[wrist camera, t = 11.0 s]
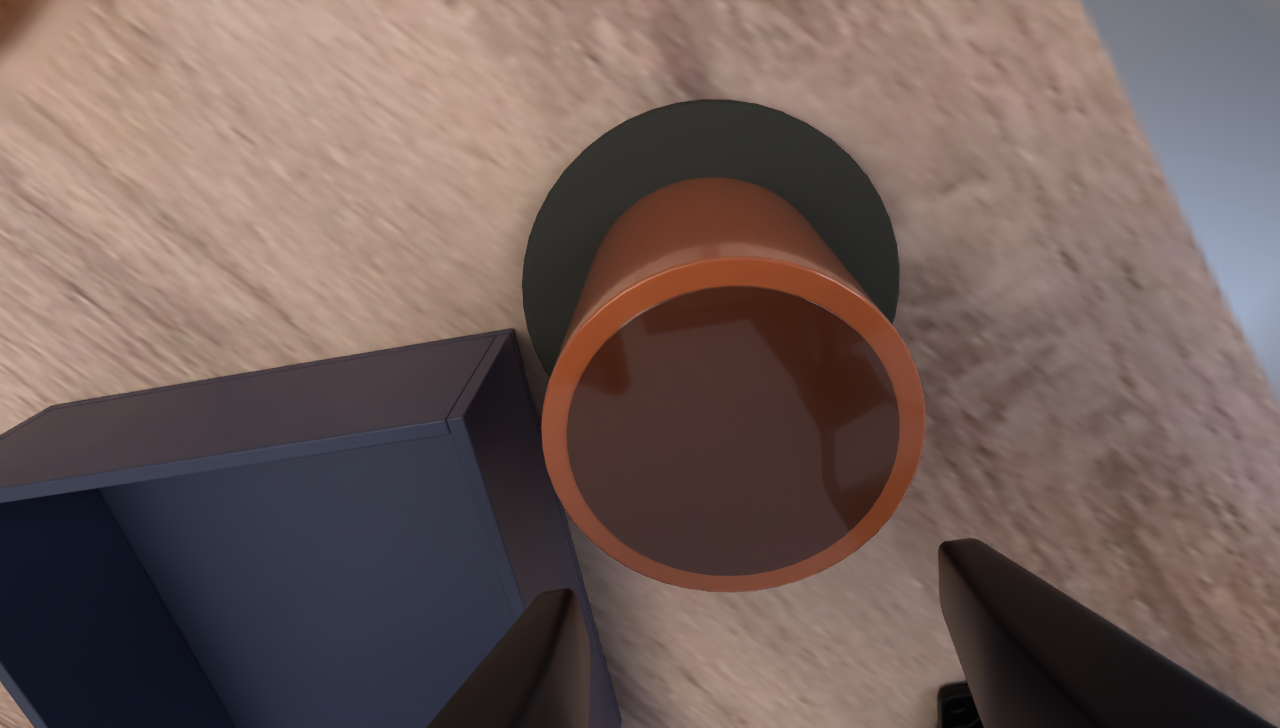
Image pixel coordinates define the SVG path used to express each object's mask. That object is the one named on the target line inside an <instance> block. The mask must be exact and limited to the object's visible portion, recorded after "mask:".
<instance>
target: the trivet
mask: <svg viewBox="0 0 1280 728" xmlns="http://www.w3.org/2000/svg"><path fill="white" fill-rule="evenodd" d="M703 177H725V178H731V179H738V180H743V181H746V182H749V183H753V184H756V185H759V186H761V187H763V188H765V189H768V190H770V191H772V192H774V193H775V194H777V195H779V196H780V197H782V198H783V199H785V200H787V201H788V202H789V203H790V204H791V205H792V206H794V207H795V208H796V209H797V210H798V211H799V212H800V213H801V214H802V215H803V216H804V217H805V218H806V219H807V221H808V222H809V223H810V224H811V225H812V226H813V228H814V229H815V230H816V231H817V233H818V234H819V235H820V236H821V238H822V239H823V240H824V241H825V242H826V244H827V245H828V246H829V247H830V249H831V250H832V251H833V252H834V254H835V255H836V256H837V257H838V258H839V260H840V261H841V262H842V263H843V265H844V266H845V267H846V268H847V270H848V271H849V272H850V273H851V274H852V276H853V277H854V278H855V279H856V281H857V282H858V283H859V284H860V286H861V287H862V288H863V289H864V290H865V292H866V293H867V294H868V295H869V297H870V298H871V299H872V300H873V302H874V303H875V304H876V305H877V306H878V308H879V309H880V310H881V311H882V313H883V314H884V315H885V316H886V318H887V319H888V320H889V321H890V323H891V324H893V321H894V317H895V313H896V307H897V300H898V294H899V260H898V252H897V244H896V240H895V236H894V232H893V229H892V225H891V221H890V218H889V216H888V214H887V211H886V209H885V207H884V205H883V202H882V200H881V198H880V196H879V194H878V193H877V191H876V189H875V188H874V186H873V185H872V183H871V181H870V180H869V178H868V176H867V175H866V174H865V173H864V172H863V170H862V169H861V168H860V167H859V166H858V164H857V163H856V162H855V161H854V160H853V158H852V157H851V156H850V155H849V154H847V153H846V152H845V151H844V150H843V149H842V148H841V147H840V146H838V145H837V144H836V143H835V142H834V141H833V140H832V139H830V138H829V137H827V136H826V135H824V134H823V133H821V132H820V131H818V130H817V129H815V128H813V127H812V126H810V125H809V124H807V123H805V122H803V121H801V120H799V119H797V118H794V117H792V116H790V115H788V114H786V113H784V112H781V111H778V110H775V109H772V108H768V107H765V106H762V105H758V104H754V103H747V102H741V101H734V100H696V101H688V102H680V103H675V104H671V105H667V106H664V107H660V108H656V109H653V110H650V111H648V112H645V113H643V114H640V115H638V116H636V117H633V118H631V119H629V120H627V121H625V122H623V123H622V124H620V125H618V126H617V127H615V128H613V129H611V130H610V131H608V132H606V133H605V134H604V135H602V136H601V137H600V138H599V139H597V140H596V141H595V142H594V143H592V144H591V145H590V146H589V147H587V148H586V149H585V150H584V151H583V152H582V153H581V154H580V155H579V156H578V157H577V158H576V159H575V160H574V161H573V162H572V163H571V164H570V166H569V167H568V168H567V169H566V170H565V171H564V172H563V174H562V175H561V177H560V178H559V179H558V181H557V182H556V183H555V185H554V186H553V188H552V189H551V190H550V192H549V193H548V195H547V197H546V199H545V201H544V203H543V205H542V207H541V209H540V210H539V212H538V214H537V217H536V220H535V222H534V225H533V228H532V231H531V233H530V236H529V240H528V244H527V249H526V254H525V258H524V267H523V280H522V290H523V307H524V312H525V317H526V323H527V328H528V332H529V334H530V337H531V340H532V343H533V346H534V349H535V352H536V354H537V356H538V358H539V360H540V362H541V364H542V366H543V368H544V370H545V372H546V373H547V375H548V376H549V378H550V377H551V374H552V371H553V369H554V366H555V363H556V360H557V358H558V355H559V352H560V349H561V347H562V344H563V341H564V338H565V336H566V333H567V330H568V327H569V325H570V322H571V319H572V316H573V314H574V311H575V308H576V305H577V303H578V300H579V297H580V294H581V292H582V289H583V286H584V283H585V281H586V278H587V275H588V272H589V270H590V267H591V264H592V261H593V259H594V256H595V254H596V252H597V249H598V247H599V245H600V243H601V242H602V240H603V238H604V236H605V235H606V233H607V232H608V230H609V229H610V228H611V226H612V225H613V224H614V223H615V221H616V220H617V219H618V218H619V217H620V216H621V215H622V214H623V213H624V212H625V211H626V210H627V209H628V208H629V207H631V206H632V205H633V204H635V203H636V202H637V201H639V200H640V199H641V198H643V197H645V196H646V195H648V194H650V193H652V192H654V191H655V190H657V189H660V188H662V187H665V186H667V185H670V184H672V183H676V182H680V181H684V180H688V179H695V178H703Z"/></svg>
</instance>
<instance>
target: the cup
mask: <svg viewBox="0 0 1280 728" xmlns="http://www.w3.org/2000/svg"><path fill="white" fill-rule="evenodd" d="M925 423H926V410H925V401H924V392H923V388H922V384H921V381H920V377H919V373H918V370H917V367H916V365H915V363H914V361H913V358H912V356H911V354H910V352H909V349H908V347H907V346H906V344H905V343H904V341H903V340H902V338H901V337H900V335H899V334H898V332H897V331H896V329H895V327H894V326H893V325H892V324H891V323H890V321H889V320H888V319H887V318H886V316H885V315H884V314H883V313H882V311H881V310H880V309H879V308H878V306H877V305H876V304H875V303H874V302H873V300H872V299H871V298H870V297H869V295H868V294H867V293H866V292H865V290H864V289H863V288H862V287H861V286H860V284H859V283H858V282H857V281H856V279H855V278H854V277H853V276H852V274H851V273H850V272H849V271H848V270H847V268H846V267H845V266H844V265H843V263H842V262H841V261H840V260H839V258H838V257H837V256H836V255H835V254H834V252H833V251H832V250H831V249H830V247H829V246H828V245H827V244H826V242H825V241H824V240H823V239H822V238H821V236H820V235H819V234H818V233H817V231H816V230H815V229H814V228H813V226H812V225H811V224H810V223H809V222H808V221H807V219H806V218H805V217H804V216H803V215H802V214H801V213H800V212H799V211H798V210H797V209H796V208H795V207H794V206H792V205H791V204H790V203H789V202H788V201H787V200H785V199H783V198H782V197H780V196H779V195H777V194H775V193H774V192H772V191H770V190H768V189H765V188H763V187H761V186H759V185H756V184H753V183H749V182H746V181H743V180H738V179H731V178H725V177H703V178H695V179H688V180H684V181H680V182H676V183H672V184H670V185H667V186H665V187H662V188H660V189H657V190H655V191H654V192H652V193H650V194H648V195H646V196H645V197H643V198H641V199H640V200H639V201H637V202H636V203H635V204H633V205H632V206H631V207H629V208H628V209H627V210H626V211H625V212H624V213H623V214H622V215H621V216H620V217H619V218H618V219H617V220H616V221H615V223H614V224H613V225H612V226H611V228H610V229H609V230H608V232H607V233H606V235H605V236H604V238H603V240H602V242H601V243H600V245H599V247H598V249H597V252H596V254H595V256H594V259H593V261H592V264H591V267H590V270H589V272H588V275H587V278H586V281H585V283H584V286H583V289H582V292H581V294H580V297H579V300H578V303H577V305H576V308H575V311H574V314H573V316H572V319H571V322H570V325H569V327H568V330H567V333H566V336H565V338H564V341H563V344H562V347H561V349H560V352H559V355H558V358H557V360H556V363H555V366H554V369H553V371H552V374H551V377H550V380H549V382H548V386H547V390H546V394H545V398H544V402H543V411H542V421H541V434H542V449H543V454H544V459H545V464H546V469H547V471H548V474H549V477H550V480H551V482H552V485H553V488H554V490H555V492H556V494H557V496H558V498H559V499H560V501H561V503H562V505H563V507H564V509H565V510H566V511H567V513H568V514H569V516H570V517H571V518H572V520H573V521H574V523H575V524H576V525H577V526H578V527H579V529H580V530H581V531H582V532H583V533H584V534H585V535H586V536H587V537H588V538H589V539H590V540H591V541H592V542H593V543H594V544H595V545H597V546H598V547H599V548H600V549H601V550H603V551H604V552H605V553H606V554H608V555H609V556H611V557H612V558H614V559H615V560H617V561H618V562H620V563H621V564H623V565H625V566H626V567H628V568H630V569H632V570H634V571H636V572H638V573H640V574H642V575H644V576H647V577H650V578H653V579H655V580H658V581H661V582H664V583H667V584H671V585H675V586H679V587H683V588H687V589H694V590H701V591H709V592H744V591H756V590H762V589H767V588H773V587H778V586H782V585H785V584H789V583H792V582H796V581H799V580H802V579H804V578H807V577H809V576H812V575H814V574H817V573H819V572H821V571H823V570H825V569H827V568H829V567H831V566H832V565H834V564H836V563H838V562H840V561H841V560H843V559H844V558H846V557H847V556H849V555H850V554H852V553H853V552H855V551H856V550H857V549H859V548H860V547H861V546H862V545H863V544H865V543H866V542H867V541H868V540H869V539H870V538H871V537H873V536H874V535H875V534H876V533H877V532H878V531H879V530H880V528H881V527H882V526H883V525H884V524H885V523H886V522H887V521H888V520H889V519H890V517H891V516H892V514H893V513H894V512H895V510H896V509H897V507H898V506H899V504H900V503H901V502H902V500H903V498H904V497H905V495H906V493H907V491H908V489H909V487H910V485H911V483H912V481H913V479H914V476H915V473H916V470H917V467H918V465H919V462H920V459H921V454H922V449H923V443H924V438H925Z"/></svg>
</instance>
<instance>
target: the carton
mask: <svg viewBox="0 0 1280 728" xmlns="http://www.w3.org/2000/svg"><path fill="white" fill-rule="evenodd" d="M565 588H569V589H571V590H573V591H574V592H575V594H576V596H577V599H578V603H579V606H580V610H581V613H582V617H583V620H584V624H585V627H586V631H587V634H588V638H589V645H590V689H589V728H621V716H620V712H619V709H618V705H617V702H616V698H615V694H614V691H613V687H612V684H611V680H610V676H609V673H608V669H607V666H606V662H605V658H604V655H603V651H602V648H601V644H600V640H599V637H598V633H597V630H596V626H595V622H594V619H593V615H592V612H591V608H590V604H589V601H588V597H587V594H586V590H585V587H584V583H583V579H582V576H581V572H580V569H579V565H578V561H577V558H576V554H575V551H574V547H573V543H572V540H571V536H570V533H569V529H568V525H567V522H566V518H565V515H564V511H563V507H562V504H561V501H560V499H559V498H558V496H557V494H556V492H555V490H554V488H553V485H552V482H551V480H550V477H549V474H548V471H547V469H546V464H545V459H544V454H543V449H542V434H541V428H540V425H539V421H538V417H537V414H536V410H535V407H534V403H533V399H532V396H531V392H530V389H529V385H528V381H527V378H526V374H525V371H524V367H523V363H522V360H521V356H520V353H519V349H518V346H517V342H516V338H515V335H514V331H513V329H506V330H500V331H494V332H488V333H482V334H476V335H470V336H464V337H458V338H452V339H446V340H440V341H434V342H428V343H422V344H416V345H410V346H405V347H399V348H393V349H387V350H381V351H375V352H369V353H363V354H357V355H351V356H345V357H339V358H333V359H327V360H321V361H315V362H309V363H303V364H297V365H291V366H285V367H279V368H273V369H267V370H262V371H256V372H250V373H244V374H238V375H232V376H226V377H220V378H214V379H208V380H202V381H196V382H190V383H184V384H178V385H172V386H166V387H160V388H154V389H148V390H142V391H136V392H130V393H124V394H119V395H113V396H107V397H101V398H95V399H89V400H83V401H77V402H71V403H65V404H59V405H53V406H50V407H48V408H46V409H45V410H43V411H42V412H39V413H38V414H36V415H34V416H33V417H31V418H29V419H27V420H26V421H24V422H22V423H20V424H19V425H17V426H15V427H13V428H12V429H10V430H8V431H6V432H5V433H3V434H1V435H0V682H1V683H2V684H3V686H4V687H5V688H6V690H7V691H8V692H9V694H10V695H11V696H12V698H13V699H14V701H15V702H16V703H17V705H18V706H19V707H20V709H21V710H22V711H23V713H24V714H25V715H26V717H27V718H28V720H29V721H30V722H31V724H32V725H33V726H34V728H426V727H427V726H428V725H429V724H430V722H431V721H432V720H433V719H434V718H435V716H436V715H437V714H438V713H439V712H440V711H441V709H442V708H443V707H444V706H445V705H446V703H447V702H448V701H449V700H450V699H451V697H452V696H453V695H454V694H455V693H456V692H457V690H458V689H459V688H460V687H461V686H462V684H463V683H464V682H465V681H466V680H467V679H468V677H469V676H470V675H471V674H472V673H473V671H474V670H475V669H476V668H477V667H478V665H479V664H480V663H481V662H482V661H483V660H484V658H485V657H486V656H487V655H488V654H489V652H490V651H491V650H492V649H493V648H494V647H495V645H496V644H497V643H498V642H499V641H500V639H501V638H502V637H503V636H504V635H505V633H506V632H507V631H508V630H509V629H510V628H511V626H512V625H513V624H514V623H515V622H516V620H517V619H518V618H519V617H520V616H521V615H522V613H523V612H524V611H525V610H526V609H527V607H528V606H529V605H530V604H531V603H532V601H533V600H534V599H535V598H536V597H537V596H538V595H539V594H540V593H541V592H544V591H549V590H557V589H565Z"/></svg>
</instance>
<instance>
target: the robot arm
mask: <svg viewBox="0 0 1280 728" xmlns="http://www.w3.org/2000/svg"><path fill="white" fill-rule="evenodd" d="M938 562H939V595H940V603H941V608H942V612H943V615H944V618H945V621H946V624H947V627H948V630H949V632H950V635H951V638H952V641H953V644H954V646H955V649H956V652H957V655H958V657H959V660H960V663H961V666H962V669H963V671H964V674H965V677H966V680H967V683H968V685H965V686H955V687H949V688H946V689H944V690H942V691H941V692H940V693H939V695H938V698H937V699H938V728H1278V727H1276V726H1274V725H1273V724H1271V723H1270V722H1268V721H1267V720H1265V719H1263V718H1262V717H1260V716H1259V715H1257V714H1255V713H1254V712H1252V711H1251V710H1249V709H1247V708H1246V707H1244V706H1243V705H1241V704H1240V703H1238V702H1236V701H1235V700H1233V699H1232V698H1230V697H1228V696H1227V695H1225V694H1224V693H1222V692H1220V691H1219V690H1217V689H1216V688H1214V687H1212V686H1211V685H1209V684H1208V683H1206V682H1205V681H1203V680H1201V679H1200V678H1198V677H1197V676H1195V675H1193V674H1192V673H1190V672H1189V671H1187V670H1185V669H1184V668H1182V667H1181V666H1179V665H1177V664H1176V663H1174V662H1173V661H1171V660H1170V659H1168V658H1166V657H1165V656H1163V655H1162V654H1160V653H1158V652H1157V651H1155V650H1154V649H1152V648H1150V647H1149V646H1147V645H1146V644H1144V643H1142V642H1141V641H1139V640H1138V639H1136V638H1135V637H1133V636H1131V635H1130V634H1128V633H1127V632H1125V631H1123V630H1122V629H1120V628H1119V627H1117V626H1115V625H1114V624H1112V623H1111V622H1109V621H1107V620H1106V619H1104V618H1103V617H1101V616H1100V615H1098V614H1096V613H1095V612H1093V611H1092V610H1090V609H1088V608H1087V607H1085V606H1084V605H1082V604H1080V603H1079V602H1077V601H1076V600H1074V599H1072V598H1071V597H1069V596H1068V595H1066V594H1065V593H1063V592H1061V591H1060V590H1058V589H1057V588H1055V587H1053V586H1052V585H1050V584H1049V583H1047V582H1045V581H1044V580H1042V579H1041V578H1039V577H1038V576H1036V575H1034V574H1033V573H1031V572H1030V571H1028V570H1026V569H1025V568H1023V567H1022V566H1020V565H1018V564H1017V563H1015V562H1014V561H1012V560H1010V559H1009V558H1007V557H1006V556H1004V555H1003V554H1001V553H999V552H998V551H996V550H995V549H993V548H991V547H990V546H988V545H987V544H985V543H983V542H982V541H980V540H978V539H975V538H968V539H960V540H952V541H945V542H943V543H942V544H941V545H940V547H939V550H938ZM589 689H590V645H589V638H588V634H587V631H586V627H585V624H584V620H583V617H582V613H581V610H580V606H579V603H578V599H577V596H576V594H575V592H574V591H573V590H571V589H569V588H565V589H557V590H549V591H544V592H541V593H540V594H539V595H538V596H537V597H536V598H535V599H534V600H533V601H532V603H531V604H530V605H529V606H528V607H527V609H526V610H525V611H524V612H523V613H522V615H521V616H520V617H519V618H518V619H517V620H516V622H515V623H514V624H513V625H512V626H511V628H510V629H509V630H508V631H507V632H506V633H505V635H504V636H503V637H502V638H501V639H500V641H499V642H498V643H497V644H496V645H495V647H494V648H493V649H492V650H491V651H490V652H489V654H488V655H487V656H486V657H485V658H484V660H483V661H482V662H481V663H480V664H479V665H478V667H477V668H476V669H475V670H474V671H473V673H472V674H471V675H470V676H469V677H468V679H467V680H466V681H465V682H464V683H463V684H462V686H461V687H460V688H459V689H458V690H457V692H456V693H455V694H454V695H453V696H452V697H451V699H450V700H449V701H448V702H447V703H446V705H445V706H444V707H443V708H442V709H441V711H440V712H439V713H438V714H437V715H436V716H435V718H434V719H433V720H432V721H431V722H430V724H429V725H428V726H427V727H426V728H589Z"/></svg>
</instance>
